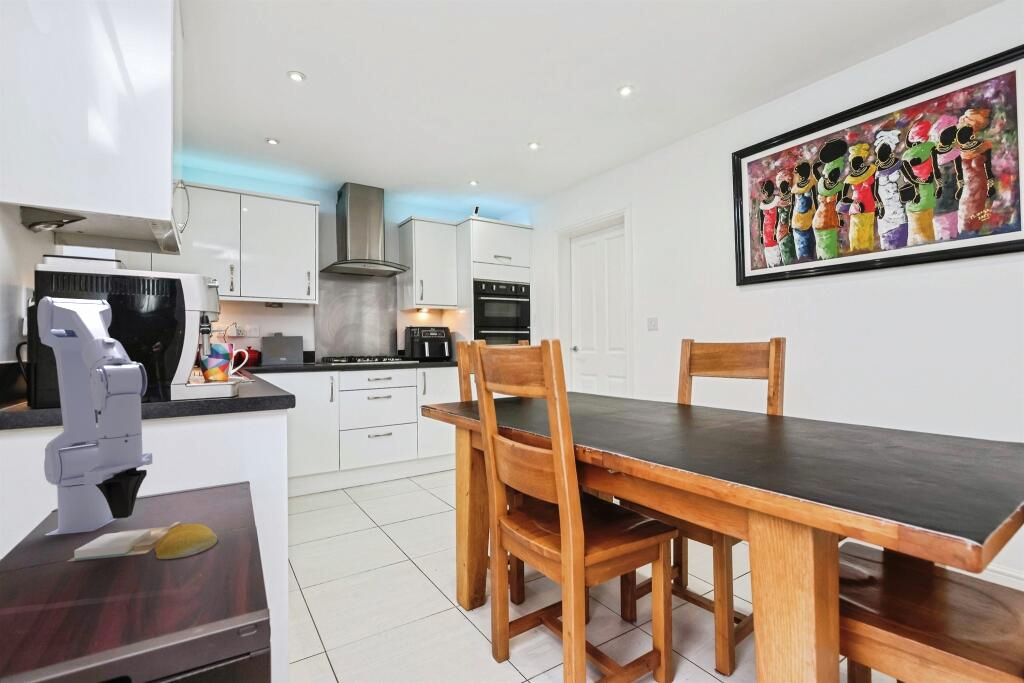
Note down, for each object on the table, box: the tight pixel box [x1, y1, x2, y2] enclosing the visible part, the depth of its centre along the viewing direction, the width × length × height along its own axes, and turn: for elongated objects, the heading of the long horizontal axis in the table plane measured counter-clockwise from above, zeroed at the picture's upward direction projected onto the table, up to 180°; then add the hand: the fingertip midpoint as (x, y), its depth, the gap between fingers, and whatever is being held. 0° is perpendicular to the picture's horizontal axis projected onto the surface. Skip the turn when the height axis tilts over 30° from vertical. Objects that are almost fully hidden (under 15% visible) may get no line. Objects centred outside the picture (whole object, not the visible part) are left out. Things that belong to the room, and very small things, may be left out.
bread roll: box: [154, 523, 218, 560], centre depth 77 cm, size 8×9×4 cm
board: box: [66, 526, 168, 562], centre depth 81 cm, size 13×11×1 cm
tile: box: [73, 530, 151, 561], centre depth 78 cm, size 2×7×7 cm
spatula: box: [134, 521, 182, 551], centre depth 82 cm, size 11×2×1 cm, turn 10°
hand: (122, 517), depth 80 cm, fingers closed
